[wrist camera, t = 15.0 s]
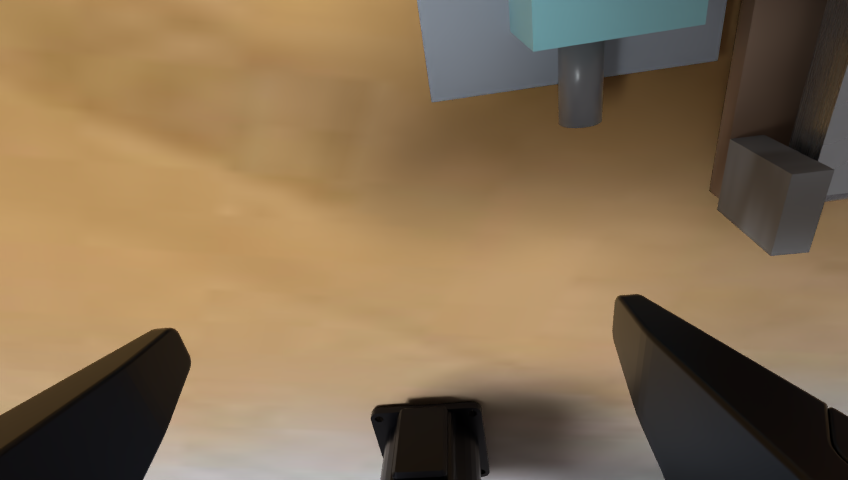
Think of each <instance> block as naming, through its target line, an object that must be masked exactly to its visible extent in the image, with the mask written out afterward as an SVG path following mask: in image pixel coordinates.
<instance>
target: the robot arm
mask: <svg viewBox="0 0 848 480" xmlns="http://www.w3.org/2000/svg"><path fill="white" fill-rule="evenodd" d="M612 331H613V339H614V344H615V347H616V350H617V353H618V356H619V360H620V363H621V366H622V369H623V373H624V376H625V379H626V382H627V386H628V389H629V392H630V395H631V399H632V402H633V405H634V408H635V411H636V414H637V416H638V419H639V421H640V424H641V426H642V428H643V431H644V433H645V435H646V437H647V440H648V442H649V444H650V446H651V449H652V451H653V453H654V455H655V458H656V460H657V462H658V464H659V467H660V469H661V471H662V473H663V476H664V478H665V480H848V416H846V415H845V414H843V413H841V412H840V411H838V410H836V409H835V408H832V407H830V408H828V406H827V404H826V403H824V402H822V401H821V400H819V399H817V398H816V397H814V396H812V395H810V394H809V393H807V392H805V391H804V390H802V389H800V388H799V387H797V386H795V385H793V384H792V383H790V382H788V381H787V380H785V379H783V378H781V377H780V376H778V375H776V374H775V373H773V372H771V371H770V370H768V369H766V368H764V367H763V366H761V365H759V364H758V363H756V362H754V361H753V360H751V359H749V358H747V357H746V356H744V355H742V354H741V353H739V352H737V351H736V350H734V349H732V348H730V347H729V346H727V345H725V344H724V343H722V342H720V341H719V340H717V339H715V338H713V337H712V336H710V335H708V334H707V333H705V332H703V331H702V330H700V329H698V328H696V327H695V326H693V325H691V324H690V323H688V322H686V321H684V320H683V319H681V318H679V317H678V316H676V315H674V314H673V313H671V312H669V311H667V310H666V309H664V308H662V307H661V306H659V305H657V304H656V303H654V302H652V301H650V300H649V299H647V298H645V297H644V296H642V295H639V294H632V295H620V296H618V297H617V298H616V300H615V306H614V318H613V330H612ZM190 366H191V359H190V355H189V353H188V351H187V349H186V347H185V345H184V343H183V341H182V339H181V337H180V335H179V333H178V331H176V330H175V329H173V328H160V329H154V330H151V331H149V332H147V333H146V334H144V335H142V336H140V337H139V338H137V339H135V340H133V341H131V342H130V343H128V344H126V345H124V346H123V347H121V348H119V349H117V350H115V351H114V352H112V353H110V354H108V355H107V356H105V357H103V358H101V359H99V360H98V361H96V362H94V363H92V364H91V365H89V366H87V367H85V368H84V369H82V370H80V371H78V372H76V373H75V374H73V375H71V376H69V377H68V378H66V379H64V380H62V381H60V382H59V383H57V384H55V385H53V386H52V387H50V388H48V389H46V390H44V391H43V392H41V393H39V394H37V395H36V396H34V397H32V398H30V399H28V400H27V401H25V402H23V403H21V404H20V405H18V406H16V407H14V408H12V409H11V410H9V411H7V412H5V413H4V414H2V415H0V480H143V479H144V477H145V475H146V473H147V471H148V469H149V467H150V465H151V462H152V460H153V458H154V456H155V454H156V452H157V450H158V448H159V446H160V444H161V442H162V440H163V437H164V435H165V433H166V430H167V428H168V425H169V423H170V420H171V418H172V415H173V412H174V410H175V407H176V404H177V402H178V399H179V396H180V394H181V391H182V388H183V386H184V383H185V380H186V378H187V375H188V373H189V370H190ZM371 422H372V425H373V428H374V431H375V434H376V437H377V440H378V444H379V447H380V450H381V453H382V456H383V465H382V472H381V480H481V477H484V476H487V475H488V474H489V463H488V455H487V448H486V440H485V433H484V426H483V418H482V411H481V406H480V405H479V404H478V403H476V402H463V403H448V404H432V405H416V406H401V407H385V408H376V409H374V410H373V411H372V414H371Z"/></svg>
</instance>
